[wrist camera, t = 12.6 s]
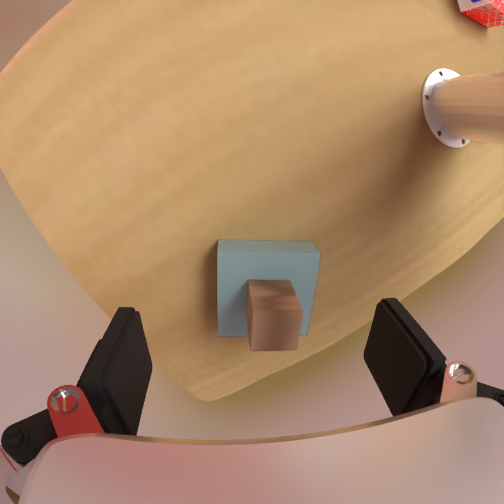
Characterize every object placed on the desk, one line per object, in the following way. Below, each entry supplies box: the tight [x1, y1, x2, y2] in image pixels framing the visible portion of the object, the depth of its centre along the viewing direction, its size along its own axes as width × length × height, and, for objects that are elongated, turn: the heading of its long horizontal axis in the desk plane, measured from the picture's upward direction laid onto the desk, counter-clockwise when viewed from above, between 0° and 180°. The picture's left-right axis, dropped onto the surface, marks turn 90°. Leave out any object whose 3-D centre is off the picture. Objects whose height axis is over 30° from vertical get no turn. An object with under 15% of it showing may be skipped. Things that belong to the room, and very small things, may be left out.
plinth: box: [217, 240, 321, 337], centre depth 37 cm, size 12×12×4 cm
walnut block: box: [246, 279, 304, 351], centre depth 32 cm, size 5×5×7 cm
